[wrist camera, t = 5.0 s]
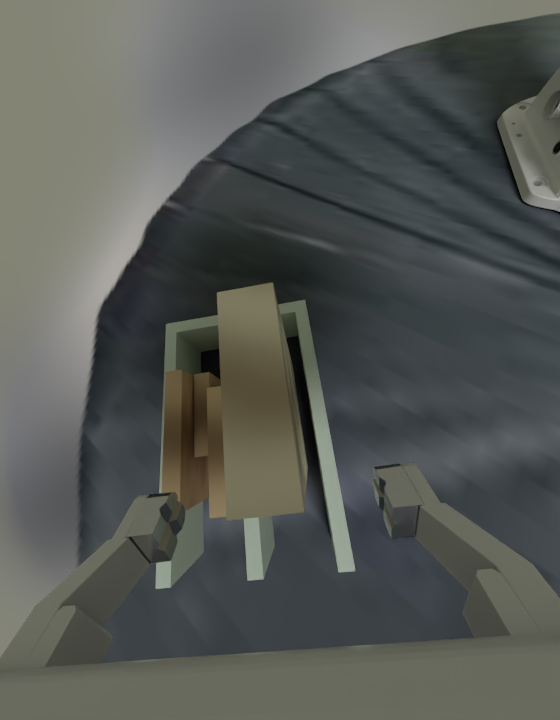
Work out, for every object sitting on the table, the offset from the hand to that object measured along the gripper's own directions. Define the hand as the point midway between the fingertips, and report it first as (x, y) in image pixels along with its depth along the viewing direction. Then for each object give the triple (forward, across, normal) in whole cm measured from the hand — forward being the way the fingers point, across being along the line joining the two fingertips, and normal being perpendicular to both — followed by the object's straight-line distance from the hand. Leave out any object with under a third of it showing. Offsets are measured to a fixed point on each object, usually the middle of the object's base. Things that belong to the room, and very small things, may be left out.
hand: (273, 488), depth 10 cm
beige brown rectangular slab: (+11, 0, +6) cm, 13 cm away
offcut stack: (+11, +6, +6) cm, 14 cm away
